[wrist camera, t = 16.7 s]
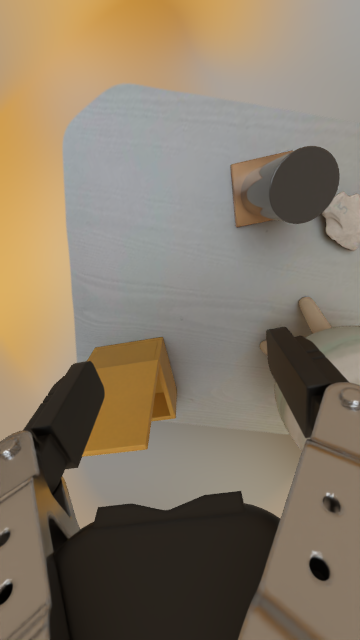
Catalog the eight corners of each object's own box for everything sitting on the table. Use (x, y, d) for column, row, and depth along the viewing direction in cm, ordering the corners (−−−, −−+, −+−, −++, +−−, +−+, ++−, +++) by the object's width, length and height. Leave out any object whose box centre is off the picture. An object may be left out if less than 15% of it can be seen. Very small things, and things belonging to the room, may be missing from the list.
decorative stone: (305, 215, 33) (316, 216, 30) (342, 178, 31) (356, 176, 28) (342, 256, 35) (355, 260, 33) (378, 224, 33) (395, 226, 31)
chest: (177, 390, 48) (175, 418, 42) (116, 398, 49) (106, 427, 43) (162, 336, 42) (159, 359, 36) (95, 347, 43) (80, 371, 37)
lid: (147, 449, 24) (145, 444, 24) (32, 462, 25) (28, 458, 25) (159, 363, 36) (158, 359, 36) (80, 375, 37) (78, 371, 37)
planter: (234, 358, 44) (276, 490, 24) (271, 275, 37) (373, 363, 17) (315, 377, 45) (417, 516, 25) (365, 300, 38) (561, 409, 18)
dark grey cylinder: (238, 170, 30) (268, 155, 19) (285, 160, 30) (343, 137, 19) (242, 219, 33) (270, 229, 22) (286, 210, 32) (336, 216, 21)
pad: (230, 165, 31) (231, 164, 30) (290, 151, 30) (293, 150, 29) (235, 226, 34) (236, 227, 33) (290, 215, 33) (292, 216, 32)
